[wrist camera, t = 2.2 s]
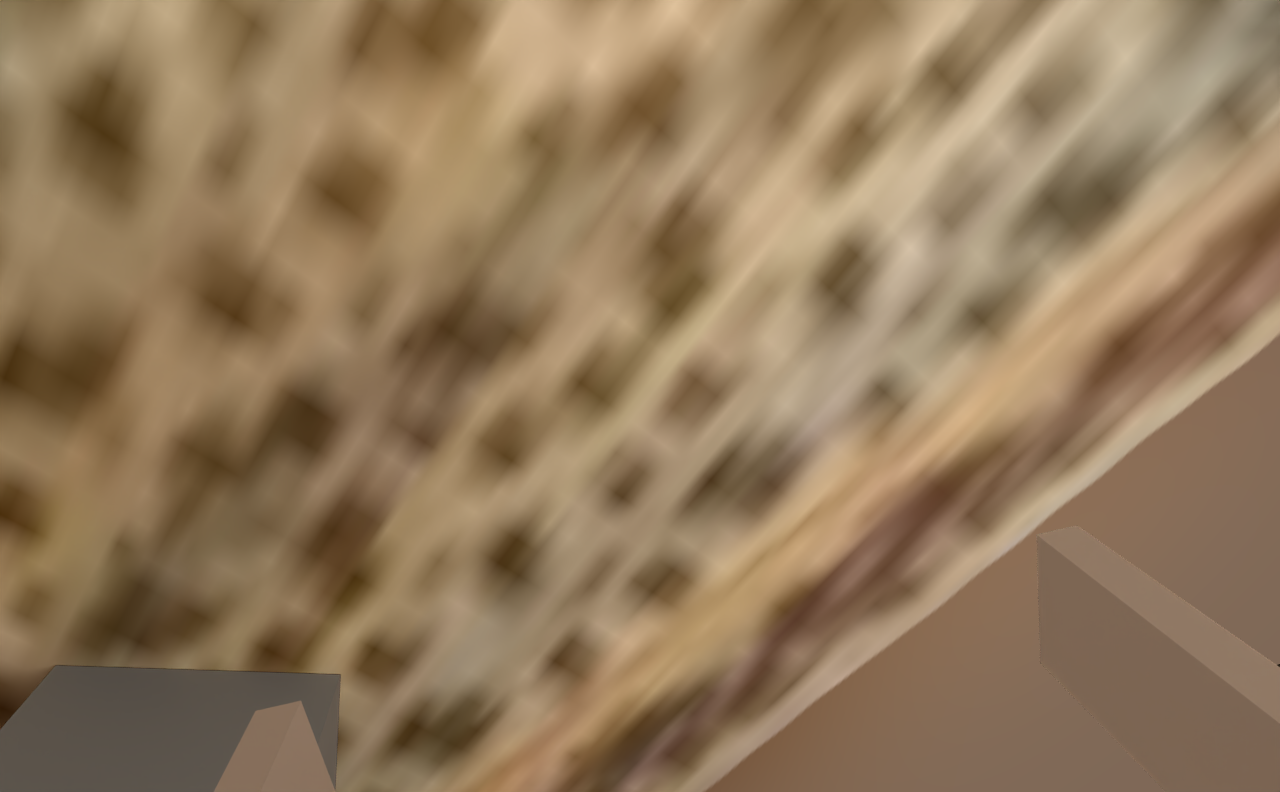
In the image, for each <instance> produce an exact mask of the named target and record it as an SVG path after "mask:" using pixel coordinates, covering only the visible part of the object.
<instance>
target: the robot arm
mask: <svg viewBox="0 0 1280 792" xmlns="http://www.w3.org/2000/svg"><path fill="white" fill-rule="evenodd" d="M1037 566H1038V567H1037V569H1038V599H1039V600H1038V602H1039V638H1040V663H1041V664H1042V665H1043V666H1044V667H1045V668H1046V669H1047V670H1048V671H1049V672H1050V674H1051V675H1052V676H1053V677H1054V678H1055V679H1056V680H1057V681H1058V682H1059V683H1060V684H1061V685H1062V686H1063V687H1064V688H1065V689H1066V690H1067V691H1068V692H1069V693H1070V694H1071V695H1072V696H1073V697H1074V698H1075V699H1076V700H1077V701H1078V702H1079V703H1080V704H1081V705H1082V706H1083V707H1084V709H1085V710H1086V711H1087V712H1088V713H1089V714H1090V715H1091V716H1092V717H1093V718H1094V719H1095V720H1096V721H1097V722H1098V723H1099V724H1100V725H1101V726H1102V727H1103V728H1104V729H1105V730H1106V731H1107V732H1108V733H1109V734H1110V735H1111V736H1112V737H1113V738H1114V739H1115V740H1116V741H1117V743H1118V744H1119V745H1120V746H1121V747H1122V748H1123V749H1124V750H1125V751H1126V752H1127V753H1128V754H1129V755H1130V756H1131V757H1132V758H1133V759H1134V760H1135V761H1136V762H1137V763H1138V764H1139V765H1140V766H1141V767H1142V768H1143V769H1144V770H1145V771H1146V772H1147V773H1148V774H1149V776H1150V777H1151V778H1152V779H1153V780H1154V781H1155V782H1156V783H1157V784H1158V785H1159V786H1160V787H1161V788H1162V789H1163V790H1164V791H1165V792H1280V664H1279V665H1276V664H1274V663H1273V662H1272V661H1270V660H1269V659H1267V658H1266V657H1264V656H1263V655H1262V654H1260V653H1258V652H1257V651H1255V650H1254V649H1253V648H1252V647H1250V646H1249V645H1247V644H1246V643H1244V642H1243V641H1241V640H1240V639H1239V638H1237V637H1236V636H1234V635H1233V634H1232V633H1230V632H1229V631H1227V630H1226V629H1224V628H1223V627H1222V626H1220V625H1219V624H1217V623H1216V622H1214V621H1213V620H1211V619H1210V618H1209V617H1207V616H1206V615H1204V614H1203V613H1202V612H1200V611H1199V610H1197V609H1196V608H1194V607H1193V606H1191V605H1190V604H1189V603H1187V602H1186V601H1184V600H1183V599H1181V598H1180V597H1179V596H1177V595H1176V594H1174V593H1173V592H1171V591H1170V590H1169V589H1167V588H1166V587H1164V586H1163V585H1161V584H1160V583H1159V582H1157V581H1156V580H1154V579H1153V578H1151V577H1150V576H1149V575H1147V574H1146V573H1144V572H1143V571H1142V570H1140V569H1139V568H1137V567H1136V566H1134V565H1133V564H1132V563H1130V562H1129V561H1127V560H1126V559H1124V558H1123V557H1122V556H1120V555H1119V554H1117V553H1116V552H1114V551H1113V550H1112V549H1110V548H1109V547H1107V546H1106V545H1104V544H1103V543H1102V542H1100V541H1099V540H1097V539H1096V538H1094V537H1093V536H1091V535H1090V534H1089V533H1087V532H1086V531H1084V530H1083V529H1081V528H1080V527H1079V526H1072V527H1068V528H1064V529H1059V530H1055V531H1050V532H1046V533H1041V534H1037ZM214 792H335V789H334V786H333V784H332V781H331V779H330V776H329V773H328V771H327V768H326V765H325V763H324V760H323V757H322V755H321V752H320V750H319V747H318V744H317V742H316V739H315V736H314V734H313V731H312V728H311V726H310V723H309V721H308V718H307V715H306V713H305V710H304V707H303V705H302V702H301V701H297V702H293V703H288V704H284V705H279V706H275V707H270V708H266V709H262V710H257V711H255V713H254V715H253V717H252V719H251V721H250V723H249V725H248V726H247V728H246V730H245V732H244V734H243V736H242V738H241V740H240V742H239V744H238V746H237V748H236V750H235V752H234V754H233V755H232V757H231V759H230V761H229V763H228V765H227V767H226V769H225V771H224V773H223V775H222V777H221V779H220V781H219V783H218V784H217V786H216V788H215V790H214Z"/></svg>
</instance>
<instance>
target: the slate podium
mask: <svg viewBox="0 0 1280 792" xmlns="http://www.w3.org/2000/svg"><path fill="white" fill-rule="evenodd" d="M339 698H340V675H338V674H306V673H275V672H243V671H211V670H180V669H148V668H117V667H85V666H55V667H54V668H53V669H52V670H51V671H50V673H49V674H48V675H47V676H46V677H45V678H44V680H43V681H42V682H41V683H40V684H39V685H38V687H37V688H36V689H35V690H34V691H33V692H32V693H31V695H30V696H29V697H28V698H27V699H26V700H25V702H24V703H23V704H22V705H21V706H20V707H19V709H18V710H17V711H16V712H15V713H14V714H13V715H12V717H11V718H10V719H9V720H8V721H7V722H6V724H5V725H4V726H3V727H2V728H1V729H0V792H214V790H215V788H216V786H217V784H218V783H219V781H220V779H221V777H222V775H223V773H224V771H225V769H226V767H227V765H228V763H229V761H230V759H231V757H232V755H233V754H234V752H235V750H236V748H237V746H238V744H239V742H240V740H241V738H242V736H243V734H244V732H245V730H246V728H247V726H248V725H249V723H250V721H251V719H252V717H253V715H254V713H255V711H257V710H262V709H266V708H270V707H275V706H279V705H284V704H288V703H293V702H297V701H301V702H302V705H303V707H304V710H305V713H306V715H307V718H308V721H309V723H310V726H311V728H312V731H313V734H314V736H315V739H316V742H317V744H318V747H319V750H320V752H321V755H322V757H323V760H324V763H325V765H326V768H327V771H328V773H329V776H330V779H331V781H332V784H333V786H334V789H335V786H336V764H337V742H338V720H339Z"/></svg>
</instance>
